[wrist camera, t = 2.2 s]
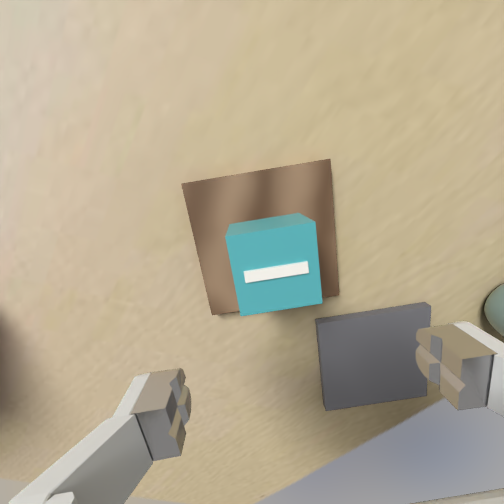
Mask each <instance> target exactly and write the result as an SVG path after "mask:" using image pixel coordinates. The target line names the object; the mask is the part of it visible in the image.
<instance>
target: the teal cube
mask: <svg viewBox="0 0 504 504" xmlns="http://www.w3.org/2000/svg"><path fill="white" fill-rule="evenodd" d="M225 239H226V244H227V249H228V254H229V259H230V264H231V269H232V274H233V279H234V285H235V290H236V295H237V300H238V305H239V310H240V315H241V316H246V315H252V314H258V313H265V312H271V311H277V310H284V309H290V308H296V307H303V306H309V305H315V304H322V292H321V280H320V269H319V257H318V246H317V235H316V223H315V221H313V220H311V219H309V218H308V217H306V216H304V215H302V214H300V213H294V214H288V215H282V216H276V217H270V218H264V219H258V220H252V221H245V222H239V223H233V224H229V227H228V230H227V233H226V236H225Z"/></svg>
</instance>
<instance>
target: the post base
mask: <svg viewBox="0 0 504 504" xmlns="http://www.w3.org/2000/svg"><path fill="white" fill-rule="evenodd" d="M182 189H183V193H184V197H185V201H186V206H187V210H188V214H189V219H190V223H191V227H192V231H193V236H194V240H195V244H196V249H197V253H198V257H199V261H200V266H201V270H202V274H203V279H204V283H205V287H206V292H207V296H208V300H209V304H210V309H211V313H212V315H216V314H223V313H229V312H235V311H240V310H239V305H238V300H237V295H236V290H235V285H234V279H233V274H232V269H231V264H230V259H229V254H228V249H227V244H226V239H225V236H226V233H227V230H228V227H229V224H233V223H239V222H245V221H252V220H258V219H264V218H270V217H276V216H282V215H288V214H294V213H300V214H302V215H304V216H306V217H308V218H309V219H311V220H313V221H315V223H316V235H317V246H318V257H319V269H320V280H321V292H322V298H324V297H330V296H336V295H339V284H338V269H337V253H336V238H335V223H334V207H333V192H332V177H331V161H330V159H326V160H320V161H314V162H308V163H302V164H296V165H290V166H284V167H278V168H272V169H266V170H260V171H254V172H248V173H242V174H236V175H231V176H225V177H219V178H213V179H207V180H201V181H195V182H189V183H183V184H182Z"/></svg>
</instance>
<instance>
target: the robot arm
mask: <svg viewBox="0 0 504 504" xmlns="http://www.w3.org/2000/svg"><path fill="white" fill-rule="evenodd" d="M416 340H417V341H418V342H419V344H420V345H419V347H418V348H417V350H416V361H417V364H418V367H419V369H420V370H421V372H422V373H423V375H424V376H425V377H426V378H427V379H428V380H429V381H431V382H433V383H436V384H438V385H439V391H440V393H441V394H442V395H443V396H444V397H445V398H446V399H447V400H448V401H449V402H450V403H451V404H452V405H453V406H454V407H455V408H456V409H457V410H464V409H471V408H479V407H486V406H487V408H488V409H490V410H492V411H493V412H495V413H497V414H499V415H501V416H502V417H504V343H503V342H501V341H500V340H498V339H496V338H495V337H493V336H491V335H490V334H488V333H486V332H485V331H483V330H481V329H480V328H478V327H476V326H475V325H473V324H471V323H470V322H466V321H459V322H454V323H449V324H446V325H440V326H434V327H428V328H422V329H418V331H417V333H416ZM185 378H186V377H185V374H184V371H183V369H181V368H179V369H172V370H165V371H157V372H152V373H145V374H138V375H137V376H136V377H134V379H133V381H132V383H131V384H130V386H129V388H128V390H127V392H126V393H125V395H124V397H123V399H122V400H121V402H120V404H119V406H118V408H117V409H116V411H115V413H114V415H113V417H112V418H108V419H106V420H105V421H104V422H102V423H101V424H100V425H99V426H98V427H96V428H95V429H94V430H93V431H92V432H91V433H89V434H88V435H87V436H86V437H85V438H83V439H82V440H81V441H80V442H79V443H78V444H76V445H75V446H74V447H73V448H72V449H70V450H69V451H68V452H67V453H66V454H65V455H63V456H62V457H61V458H60V459H59V460H57V461H56V462H55V463H54V464H53V465H51V466H50V467H49V468H48V469H47V470H46V471H44V472H43V473H42V474H41V475H40V476H38V477H37V478H36V479H35V480H34V481H33V482H31V483H30V484H29V485H28V486H27V487H25V488H24V489H23V490H22V491H21V492H20V493H18V494H17V495H16V496H15V497H14V498H12V499H11V501H10V502H9V503H8V504H124V503H125V501H126V500H127V499H128V497H129V496H130V495H131V493H132V492H133V490H134V489H135V488H136V486H137V485H138V483H139V482H140V481H141V479H142V478H143V476H144V475H145V474H146V472H147V471H148V469H149V468H150V467H151V465H152V464H153V462H152V461H156V460H161V459H167V458H172V457H177V456H181V454H182V449H183V445H184V441H185V436H186V431H185V428H184V425H185V424H186V423H187V422H188V420H189V418H190V413H191V395H190V391H189V388H188V387H187V386H185V385H184V382H185ZM411 504H504V488H503V489H496V490H490V491H484V492H478V493H472V494H466V495H460V496H454V497H448V498H442V499H436V500H429V501H423V502H417V503H411Z"/></svg>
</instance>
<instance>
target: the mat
mask: <svg viewBox="0 0 504 504" xmlns="http://www.w3.org/2000/svg"><path fill="white" fill-rule="evenodd" d="M430 319H431V306H430V305H429V304H427V303H426V302H422V303H415V304H409V305H403V306H396V307H390V308H384V309H377V310H371V311H365V312H358V313H352V314H345V315H339V316H333V317H326V318H320V319H315V322H316V332H317V342H318V352H319V362H320V372H321V382H322V392H323V403H324V407H325V409H326V411H329V410H336V409H343V408H349V407H356V406H363V405H369V404H376V403H382V402H389V401H396V400H402V399H409V398H416V397H422V396H426V395H427V378H426V377H425V376H424V375H423V373H422V372H421V370H420V369H419V367H418V364H417V361H416V350H417V348H418V347H419V345H420V344H419V342H418V341H417V340H416V333H417V331H418V329H422V328H428V327H430Z"/></svg>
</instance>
